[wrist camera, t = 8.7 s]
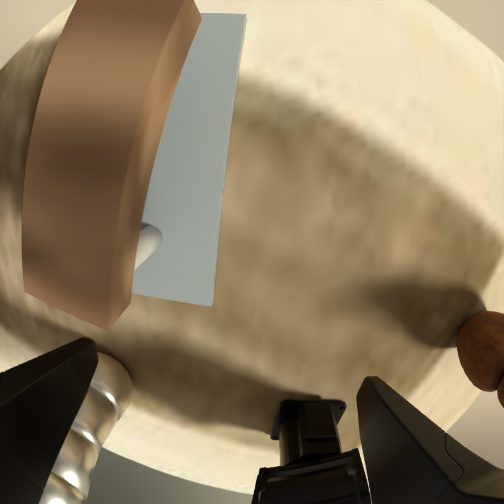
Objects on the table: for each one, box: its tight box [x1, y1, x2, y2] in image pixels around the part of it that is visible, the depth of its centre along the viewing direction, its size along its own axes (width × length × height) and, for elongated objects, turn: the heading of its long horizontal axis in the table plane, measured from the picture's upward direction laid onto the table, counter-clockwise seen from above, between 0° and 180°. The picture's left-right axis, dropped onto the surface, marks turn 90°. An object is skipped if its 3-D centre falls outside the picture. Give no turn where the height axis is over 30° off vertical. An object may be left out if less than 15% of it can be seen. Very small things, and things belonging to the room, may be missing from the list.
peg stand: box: [131, 13, 247, 306], centre depth 15 cm, size 20×12×5 cm, turn 173°
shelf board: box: [22, 0, 202, 331], centre depth 11 cm, size 16×6×3 cm, turn 163°
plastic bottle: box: [39, 352, 133, 504], centre depth 15 cm, size 6×7×20 cm
